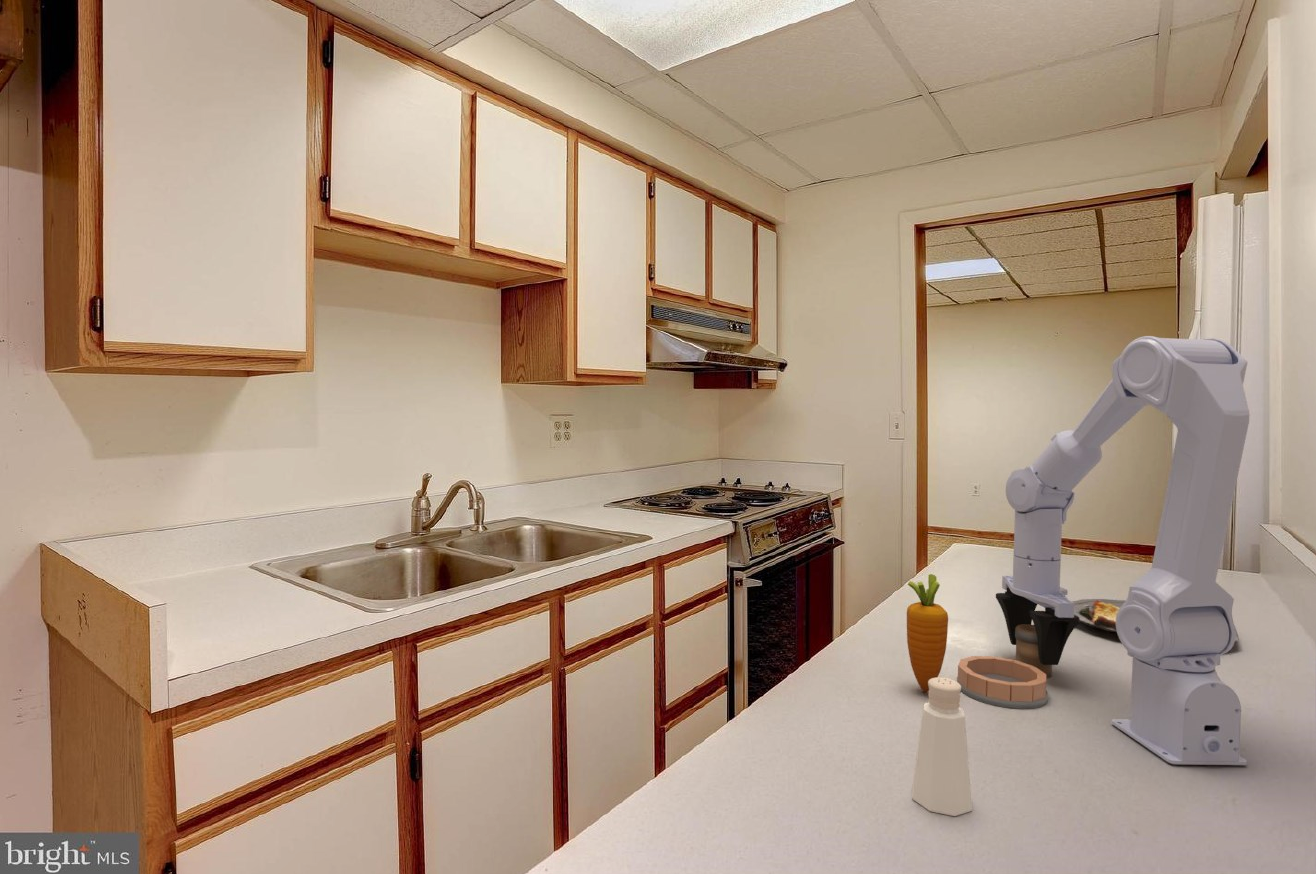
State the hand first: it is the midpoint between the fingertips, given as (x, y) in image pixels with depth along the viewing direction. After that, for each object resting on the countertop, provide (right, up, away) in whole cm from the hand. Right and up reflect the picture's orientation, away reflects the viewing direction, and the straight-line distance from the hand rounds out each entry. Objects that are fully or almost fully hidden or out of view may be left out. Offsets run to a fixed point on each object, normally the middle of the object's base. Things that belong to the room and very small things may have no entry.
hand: (1033, 653), depth 95 cm
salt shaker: (-26, -4, -32) cm, 41 cm away
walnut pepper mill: (0, -3, 0) cm, 3 cm away
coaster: (-8, -3, -7) cm, 11 cm away
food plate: (+30, -3, +20) cm, 36 cm away
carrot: (-18, -3, -7) cm, 20 cm away
